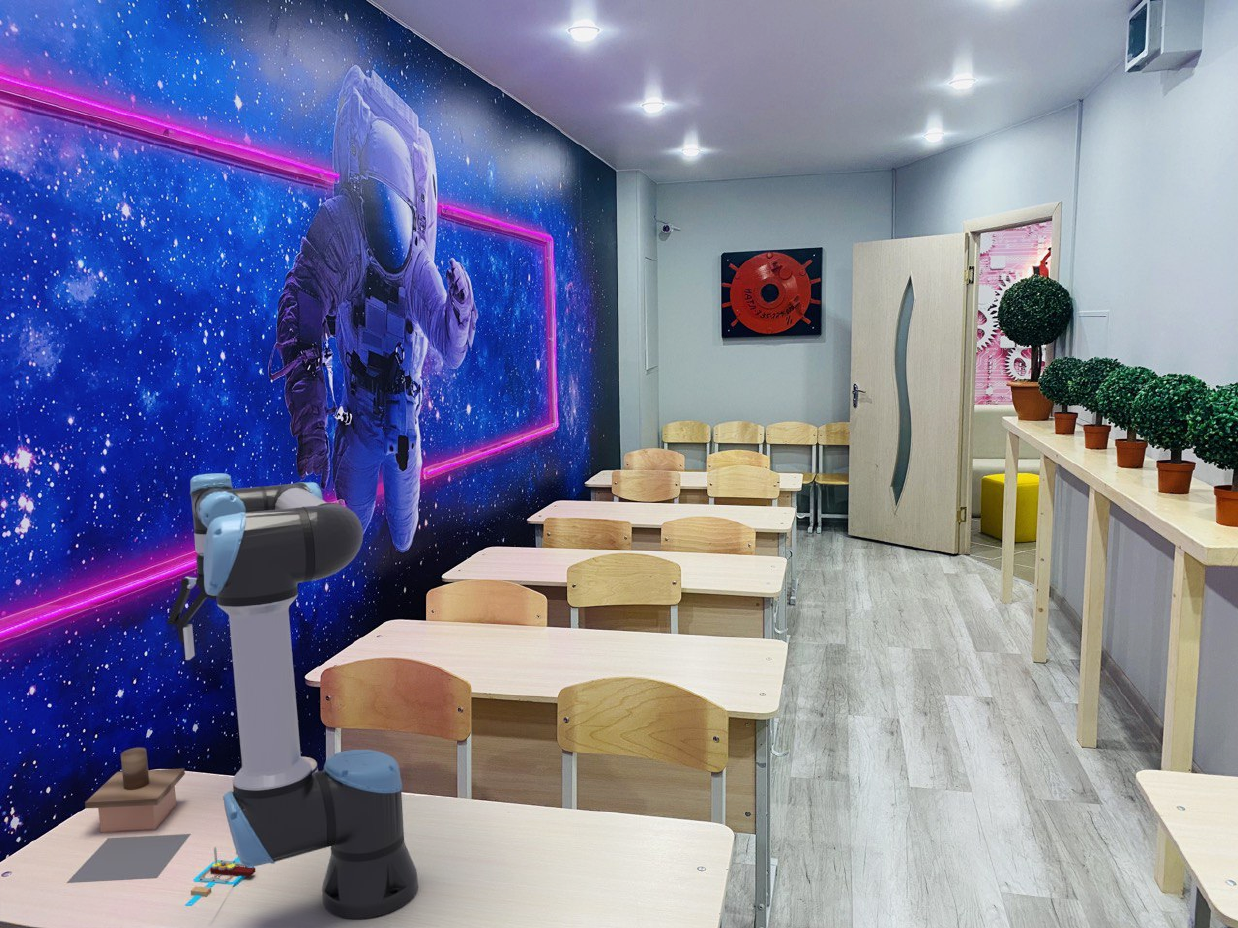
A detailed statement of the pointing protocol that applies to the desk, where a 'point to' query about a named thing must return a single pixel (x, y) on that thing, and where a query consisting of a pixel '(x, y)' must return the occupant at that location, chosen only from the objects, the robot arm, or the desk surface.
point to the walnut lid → (135, 783)
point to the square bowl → (136, 815)
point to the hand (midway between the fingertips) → (225, 656)
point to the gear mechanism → (219, 868)
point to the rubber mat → (130, 858)
